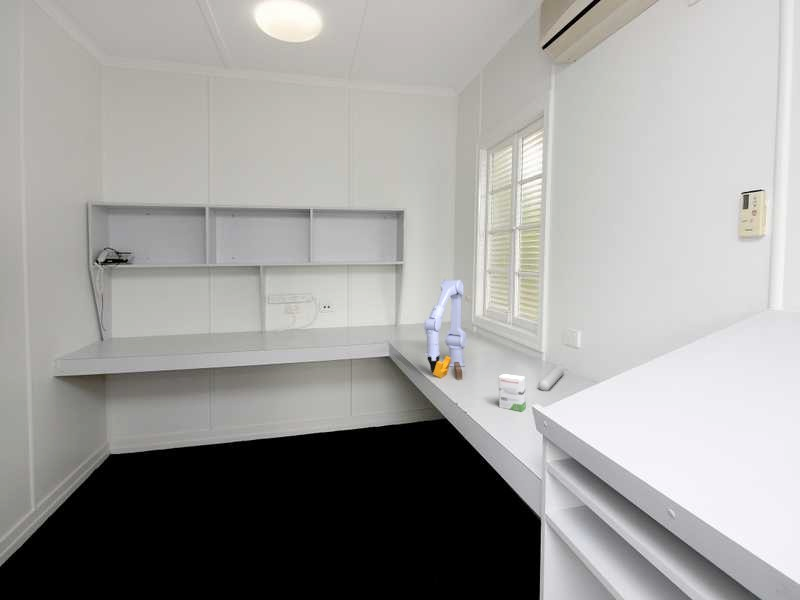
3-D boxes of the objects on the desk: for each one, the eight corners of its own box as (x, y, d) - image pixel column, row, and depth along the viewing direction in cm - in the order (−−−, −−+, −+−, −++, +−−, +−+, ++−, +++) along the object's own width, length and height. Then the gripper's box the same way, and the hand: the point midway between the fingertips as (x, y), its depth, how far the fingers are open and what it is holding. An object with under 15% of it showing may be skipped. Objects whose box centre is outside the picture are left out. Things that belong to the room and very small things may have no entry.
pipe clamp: (441, 378, 187) (445, 365, 185) (433, 374, 188) (436, 361, 187) (450, 371, 197) (454, 359, 195) (443, 367, 199) (446, 355, 197)
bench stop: (454, 369, 200) (454, 361, 199) (459, 369, 199) (458, 361, 199) (457, 379, 184) (456, 371, 183) (462, 379, 184) (462, 370, 183)
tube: (551, 383, 162) (566, 368, 182) (538, 378, 164) (554, 363, 185) (547, 395, 163) (562, 378, 184) (534, 389, 166) (550, 373, 186)
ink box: (526, 407, 147) (526, 376, 146) (521, 412, 143) (521, 379, 142) (503, 403, 153) (503, 372, 151) (498, 407, 149) (498, 376, 147)
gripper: (424, 340, 198) (425, 368, 199) (424, 347, 184) (425, 376, 185) (438, 340, 198) (439, 367, 199) (440, 347, 183) (440, 376, 185)
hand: (433, 372), depth 192 cm, fingers closed
